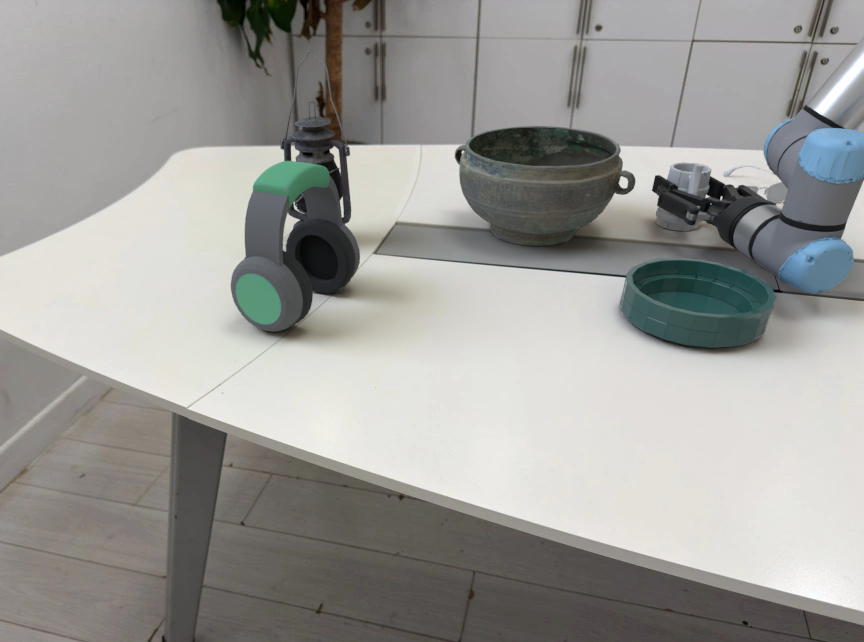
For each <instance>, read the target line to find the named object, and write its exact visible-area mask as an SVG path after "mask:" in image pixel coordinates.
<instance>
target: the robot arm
mask: <svg viewBox="0 0 864 642" xmlns="http://www.w3.org/2000/svg"><path fill="white" fill-rule="evenodd" d="M863 125H864V35H863V36H862V37H861V39H859V41H858V42H857V43H856V45H854V47H853V48H852V49H851V50H850V51H849V52H848V54H847V55H846V56H845V57H844V59H843V60H842V61H841V62H840V63H839V64H838V65H837V67H836V68H835V69H834V70H833V71H832V73H831V74H830V75H829V77H828V78H827V79H826V80H825V81H824V82H823V84H822V85H821V86H820V87H819V88H818V90H816V92H815V93H814V94H813V95H812V96H811V97H810V99H809V100H808V102H806V104H805V105H804V106H803V107H802V109H800V110H799V112H798V113H796V115H795V117H793V118H790V119H787V120H785V121H782V122H780V123H779V124H778V125H776V126H775V127H774V128H773V129H772V130H771V131H770V132H769V133H768V134H767V136H766V138H765V140H764V143H763V157H764V159H765V162H766V165H767V166H768V169H769V170H770V171H771V173H773V175H774V174H775V175H774V176H776V177H777V178H778V179H779V180H780V182H782V183H783V184H784V185H785V187H786V188H787V189H788V191H787V194H786V198H785V200H784V201H783V205H782V208H781V207H779V206H777V203H774V202H771V201H768V200H767V198H764V197H763V196H761V195H760V194H759V193H758V192H757V193H756V192H754V191H753V190H751V189H750V188H748V187H747V186H748V185H745V184H739V185H738V186H737V187H738V188H737V187H735V185H733V184H729V183H727V184H726V183H724V182H722V181H720V180H719V179H717V178H715V177H713V176H711V175H710V179H709V191H708V193H707V194H706V197H705V198H702V197H699V196H696V195H693V194H690V193H687V192H684V191H681V190H678V186H676V184H673V183H671V182H670V181H668V180H667V178H665V177H663V176H662V175H660V174H657V175H656V174H655V176H654V179H653V184H652V189H651V192H653V193H655V194H656V196H658V198H657V201H656V206H657V208H658V207H660V208H662V209H664V210H666V211H668V212H670V213H671V214H673V215H675V216H677V217H679V218H681V219H683V220H684V221H685V222H686V223H687V224H688V225H695V223H696V222H697V220H702V222H705V223H706V224H708V225H712V226H713V227H716V228H715V229H716V230H717V233H718V236H719V237H720V239H721V240H722V241H723V242H725V243H726V244H727V245H729V246H730V247H732V248H733V249H735V250H737V251H739V252H740V253H741V254H743V255H745V256H746V257H748V258H750V259H751V260H752V261H754V263H756V265H758V266H760V267H762V268H763V269H765V270H766V271H768V272H769V273H771V274H772V275H774V276H775V277H777V278H778V279H779V280H780V281H781V283H784V284H786V285H789V286H791V287H792V288H794V289H795V290H798V291H800V292H803V293H806V294H813V295H816V294H821V293H825V292H828V291H830V290H832V289H835V287H837V286H838V285H839V284H841V283H842V282H843V281H844V280H845V279H846V278H847V277H848V275H849V274H850V273H851V271H852V269H853V266H854V263H855V258H854V251H853V249H852V247H851V246H850V245H849V244H848V243H847V242H846V241H845V240H844V239H842V237H843V235H844V232H845V230H846V227H847V223H848V220H849V217H850V214H851V212H852V210H853V208H854V205H855V202H856V200H857V199H858V198H857V197H858V196H859V193H860V190H861V189H862V186H863V184H864V132H861V131H860V129H861V128H862V127H863ZM707 196H708V197H707Z"/></svg>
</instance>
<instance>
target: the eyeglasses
mask: <svg viewBox="0 0 864 642" xmlns="http://www.w3.org/2000/svg"><path fill="white" fill-rule="evenodd" d="M742 168H754V169H757V170H761V171H763V172H766V173H769V174H772V175H774V176H776V175H775V174H774V173H773V172H772V171H771V172H770V171H767V170H765V169H763V168H761V167H758V166H755V165H748V164H747V165H746V164H745V165H739V166H735V167H733V168H732V167H731V168H729V169H728V170H725V171H724V172H723V175H724V176H727V177H728V176H730V175H732V173H733V172H735V171H737V170H738V169H742ZM728 171H729V172H728ZM746 186H747V187H748V188H750V189H751V190H753V191H754V192H756V193H757V194H758V192H759V190H763V189H765V190H764V193H763V194H764V196H765V197H766V200H768V201H771V202H774V203H776V204H778V203H780V202H784V201H785V198H786V194H787V191H788V189H787V188H786V187H785V185H784V184H783V183H782V181H779V182H775V183H772V184H770V185H769V186H768V187H767V186H762V187H758V186H756V185H746ZM736 188H738V186H737V187H736Z"/></svg>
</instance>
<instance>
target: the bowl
mask: <svg viewBox="0 0 864 642" xmlns="http://www.w3.org/2000/svg"><path fill="white" fill-rule="evenodd" d="M621 150H622V149H621V147H620V145H619V143H617V142H616V141H615V140H614V139H612V138H610V137H608V136H607V135H604V134H601V133H598V132H594V131H590V130H585V129H580V128H572V127H564V126H552V125H551V126H550V125H549V126H548V125H525V126H524V125H522V126H510V127H504V128H503V127H502V128H496V129H491V130H485V131H483V132H480V133H477V134H475V135H473V136H471V137H469V139H467V141H466V142H465V144H462V145H459V146H458V147H457V148H456V149H455V152H454V159H455V161H456V163H457V164H458V165H459V171H458V172H459V175H458V176H459V185H460V188H461V192H462V194H463V197H464V199H465V201H466V202H467V205H469V207H470V208H471V210H472V211H473V212H474V213H475V214H476V215H477V216H479V217H480V218H481V219H482V220H484V221H486V222H487V223H489V231H490V233H491V234H492V236H494V237H495V238H498V239H499V240H502V241H504V242H506V243H507V242H508V243H510V244H516V245H520V246H528V247H529V246H531V247H532V246H533V247H535V246H536V247H545V246H556V245H561V244H564V243H567V242H569V241H570V240H572V239H573V237H574V236H575V234H576V232H577V229H580V228H583V227H584V226H587V225H589V224H591V223H592V222H593V221H594V220H596V219H597V218H598V217H599V216H601V214H603V212H604V210H605V209H606V208H607V206H608V205H609V203H610V202H611V200H612V199H613V197H614V195H615V194H616V195H619V196H620V195H621V196H625V195H628V194H629V193H631V192H633V190H634V189H635V186H636V177H635V175H634V173H632V172H631V171H628V170H623V166H624V161H623V159H622V157H621V156H620V154H621V152H622V151H621ZM621 177H622V178H624V179H627V187H625V188H624V187H621V185H620V181H621Z"/></svg>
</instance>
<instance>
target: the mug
mask: <svg viewBox="0 0 864 642" xmlns="http://www.w3.org/2000/svg"><path fill="white" fill-rule="evenodd" d="M711 175H712V168H711V167H710V166H708V165H706V164H702V163H699V162H683V161H682V162H676V163H673V164H671V165H670V167H669V171H668V174H667V178H666V179H667V180H668V181H670V182H671V183H673V184H676V186H678V190H681V191H684V192H687V193H690V194H693V195H696V196H699V197H702V198H707V195H706V194H707V193H708V191H709V179H710V176H711ZM655 217H656V219H655V223H656V225H658V226H660V227H661V228H663V229H665V230H671V231H677V232H688V231H694V230H697V229H698V228H699V227H700V223H702V222H703V220H697V222H696V223H695V225H688V224H687V223H686V222H685V221H684V220H683V219H681V218H679V217H677V216H675V215H673V214H671V213H670V212H668V211H666V210H664V209H662V208H660V207H658V206H657V209H656V211H655Z"/></svg>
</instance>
